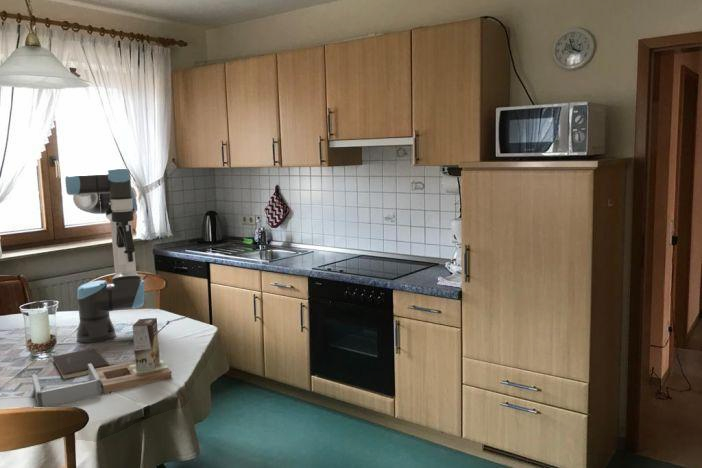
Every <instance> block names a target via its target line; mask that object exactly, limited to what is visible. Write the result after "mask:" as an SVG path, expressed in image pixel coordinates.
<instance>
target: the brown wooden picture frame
mask: <svg viewBox="0 0 702 468" xmlns="http://www.w3.org/2000/svg"><path fill="white" fill-rule="evenodd" d="M95 371H96V373H97V374H98V376H99V378H100V380H101V389H102V393H104V394H106V393H107V394H108V393H110V392H114V391H119V390H124V389H128V388H129V389H130V388H134V387H138V386H142V385H147V384H150V383H151V384H152V383H157V382H161V381H165V380H169V379H172V370H170V368H169V367H168V366H167V364H166V363H165V362H164V361H163V360H162V359H161V358H160V361H159V363H158V364H157V366H156V367H155V369H154V370H143V371H136V363H135V360H132V361H128V362H122V363H118V364H113V365H110V366H107V367H102V368H97V369H95Z"/></svg>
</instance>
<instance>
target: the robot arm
mask: <svg viewBox="0 0 702 468" xmlns="http://www.w3.org/2000/svg"><path fill="white" fill-rule="evenodd" d="M130 171H131V170H130V169H129V168H128V167H114V168H110V169H108V170H107V172H104V173H100V172H99V173H81V174H79V173H78V174H77V173H74V174H66V175H65V178H64V179H65V189H66V190H65V191H66V194H67V195H69V196H72V199H73V203H74V205H75V206H76V207H77V208H78V209H79V210H81V211H82V212H83V211H84V212H85V213H89V214H93V215H94V214H96V215H102V214H105V217H106V219H108V220H109V222H110V232H111V233H110V234H111V242H112V253H113V264H114V265H113V266H114V275H113V277H112V278H111V282H110V283H108V282H107V280H104V279H103V280H99V279H98V280H95V281H90V282H86V283H84V284H81V285H80V286H79V287H78V288H77V290H76V291H77V292H76V293H77V294H76V295H77V296H76V297H77V298H76V299H77V306H78V307H77V308H78V316H79V322H78V327H77V330H76V331H77V332H76V341H78V342H80V343H97V342H103V341H106V340H110V339H112V338H114V337H115V336H116V328H115V326H114V324H113V322H112V319H111V317H110V312H115V311H116V312H117V311H122V310H134V309H138V308H142V307H143V305H144V303H145V289H146V288H145V285H146V283H145V282H146V281H145V279H142V278H141V277H142V276H141V275H140V274H139V273H137V264H136V255H135V254H136V253H135V252H136V251H135V250H136V249H135V244H134V234H133V225H132V221H134V220H135V219H134V216H135V213H136V212H137V211H138V204H137V199H136V195H135V192H134V189H133V187H132V182H131V178H132V177H131V172H130Z"/></svg>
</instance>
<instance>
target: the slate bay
mask: <svg viewBox="0 0 702 468" xmlns="http://www.w3.org/2000/svg"><path fill="white" fill-rule="evenodd" d="M88 373H89V374H88V379H89V381H85V382H79V383H74V384H69V385H64V386H60V387H55V388H51V389H46V390H45V389H44V390H41V388H40V387H41V386H40V383H39V379H38V376H37V373H35V374H32V375H31V378H32V386H33V391H34V392H33V393H34V396H35V400H36V403H37V408H38V407H45V408H48V407H53V406H59V405H62V404H67V403H72V402H75V401H76V402H77V401H81V400H85V399H88V398H89V399H90V398H94V397H98V396H102V395H103V390H102V388H101V380H100V378H99V376H98V374H97V373H96V371H95V369H94V367H93V365H92V364H91V363H90V364H88Z"/></svg>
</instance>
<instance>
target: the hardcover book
mask: <svg viewBox="0 0 702 468" xmlns="http://www.w3.org/2000/svg"><path fill="white" fill-rule="evenodd" d="M51 358H52V359H53V362H54V363H55V365H56V367H57V369H58V371H59V373H60V374H61V376H62V378H63V379H64V380H66V379H70V378H76V377H78V376H84V375H85V376H86V375H89V373H88V364H90V363H91V364H92V365H93V367H94V369H97V368H102V367H107V366H111V364H110V363H109V362H108V360H107V359H106V358H105V357H104V356H103V354H102V353H101V352H100V351H99V350H98V348H96V347H93V348H88V349H84V350H78V351H74V352H73V351H72V352H68V353H63V354H62V353H61V354H59V355H58V354H57V355H53V356H51Z"/></svg>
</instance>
